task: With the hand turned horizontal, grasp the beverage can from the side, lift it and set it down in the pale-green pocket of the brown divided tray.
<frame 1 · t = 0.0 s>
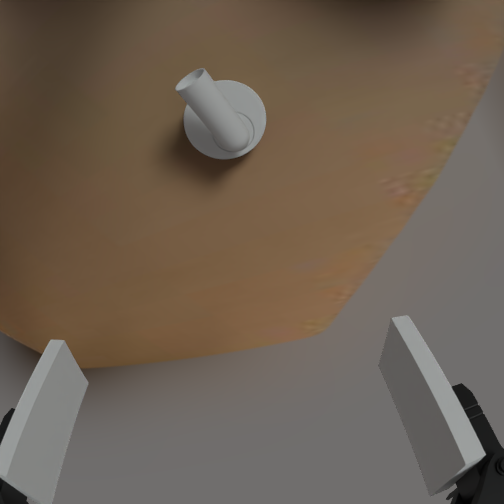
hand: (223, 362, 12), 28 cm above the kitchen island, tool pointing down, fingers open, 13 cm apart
wall hook: (221, 113, 33), on the kitchen island
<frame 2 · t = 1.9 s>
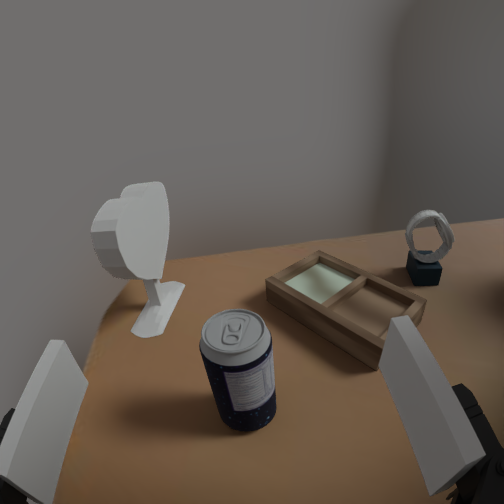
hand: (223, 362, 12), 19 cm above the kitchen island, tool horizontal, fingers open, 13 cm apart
beverage can: (248, 413, 30), on the kitchen island
heart sculpture: (159, 307, 46), on the kitchen island
brown divided tray: (343, 312, 42), on the kitchen island
watch: (422, 276, 47), on the kitchen island
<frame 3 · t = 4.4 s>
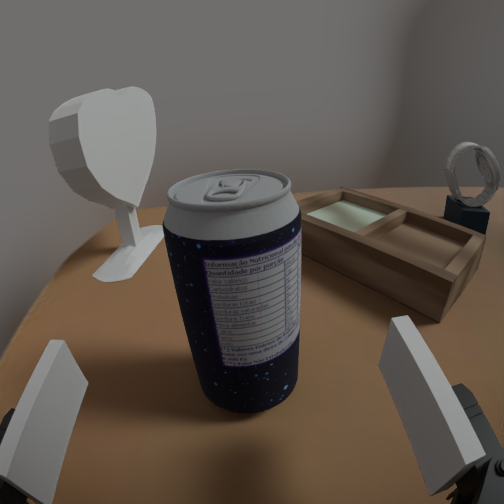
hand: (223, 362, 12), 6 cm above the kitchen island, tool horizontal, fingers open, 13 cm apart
beverage can: (249, 385, 18), on the kitchen island
heart sculpture: (134, 251, 35), on the kitchen island
brown divided tray: (379, 254, 30), on the kitchen island
watch: (464, 226, 35), on the kitchen island
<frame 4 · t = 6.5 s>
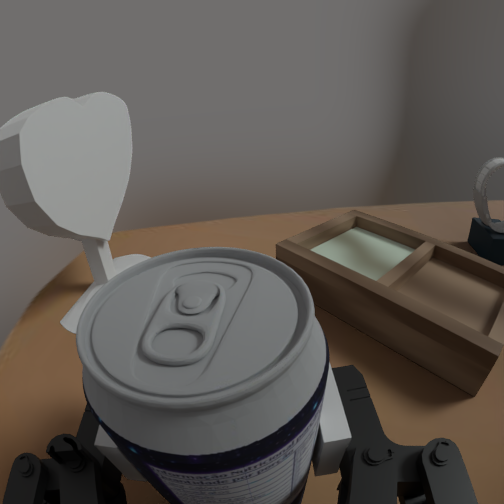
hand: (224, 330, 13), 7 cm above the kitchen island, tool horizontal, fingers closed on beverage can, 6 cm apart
beverage can: (242, 495, 12), on the kitchen island, touching gripper
heart sculpture: (109, 289, 29), on the kitchen island
brown divided tray: (401, 299, 24), on the kitchen island
watch: (490, 254, 29), on the kitchen island
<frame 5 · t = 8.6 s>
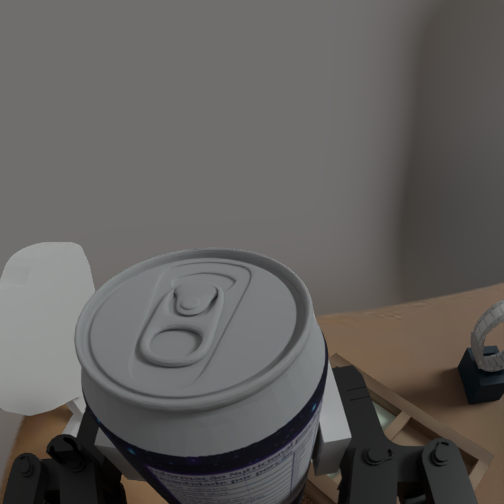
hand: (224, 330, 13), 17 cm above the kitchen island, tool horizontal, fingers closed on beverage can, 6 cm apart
beverage can: (242, 496, 12), point 11 cm above the kitchen island, touching gripper
heart sculpture: (91, 421, 26), on the kitchen island
brown divided tray: (365, 465, 21), on the kitchen island
watch: (478, 383, 26), on the kitchen island
when the fingers open (11 cm above the kitchen island, at t = 10.9 s): beverage can drops 1 cm, resting on brown divided tray.
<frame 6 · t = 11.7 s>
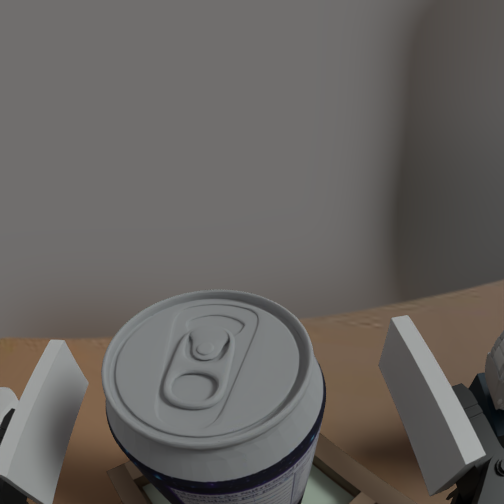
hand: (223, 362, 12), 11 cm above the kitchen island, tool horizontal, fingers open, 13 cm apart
beverage can: (244, 502, 13), point 2 cm above the kitchen island, touching brown divided tray
watch: (491, 423, 16), on the kitchen island
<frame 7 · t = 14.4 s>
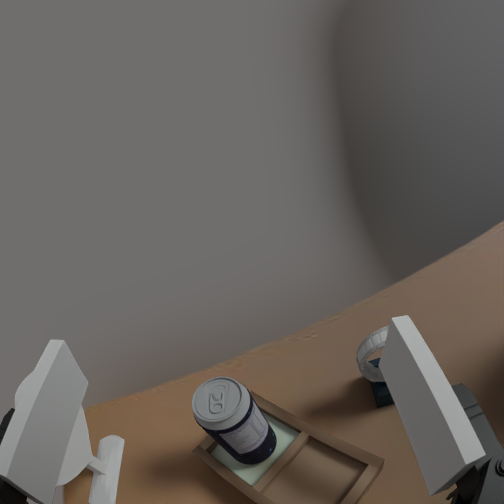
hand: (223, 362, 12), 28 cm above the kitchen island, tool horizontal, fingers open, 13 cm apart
beverage can: (255, 446, 32), point 2 cm above the kitchen island, touching brown divided tray
heart sculpture: (107, 472, 35), on the kitchen island
brown divided tray: (288, 470, 31), on the kitchen island
watch: (388, 386, 36), on the kitchen island
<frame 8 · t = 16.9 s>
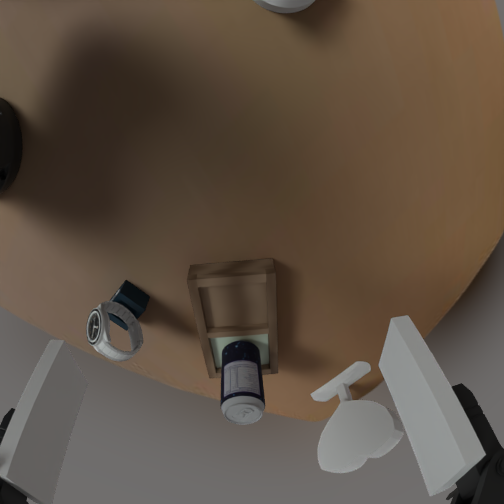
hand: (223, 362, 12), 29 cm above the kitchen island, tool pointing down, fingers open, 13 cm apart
beverage can: (240, 348, 47), point 2 cm above the kitchen island, touching brown divided tray
heart sculpture: (340, 382, 57), on the kitchen island
brown divided tray: (237, 316, 47), on the kitchen island
watch: (128, 298, 45), on the kitchen island
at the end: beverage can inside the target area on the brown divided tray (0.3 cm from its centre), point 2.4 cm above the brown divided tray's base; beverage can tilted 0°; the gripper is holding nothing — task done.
